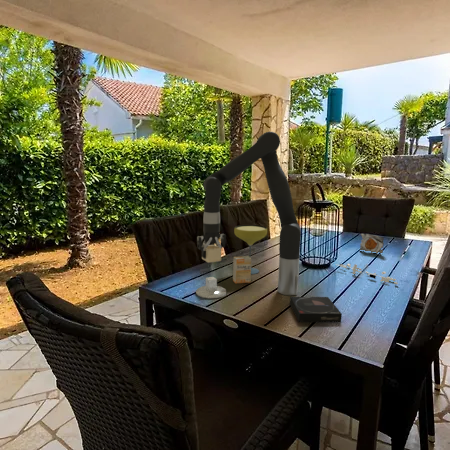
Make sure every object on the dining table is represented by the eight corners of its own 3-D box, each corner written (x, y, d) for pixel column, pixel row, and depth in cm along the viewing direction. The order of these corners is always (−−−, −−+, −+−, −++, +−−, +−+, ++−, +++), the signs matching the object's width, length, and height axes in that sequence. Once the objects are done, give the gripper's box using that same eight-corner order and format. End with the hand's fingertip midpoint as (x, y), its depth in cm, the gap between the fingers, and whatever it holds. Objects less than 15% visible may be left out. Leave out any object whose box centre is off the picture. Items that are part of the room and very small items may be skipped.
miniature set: (332, 269, 194) (341, 268, 203) (395, 289, 170) (403, 287, 179) (334, 258, 194) (344, 257, 202) (398, 277, 170) (406, 275, 178)
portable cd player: (326, 305, 149) (327, 296, 148) (340, 323, 132) (341, 313, 131) (289, 304, 148) (290, 296, 147) (298, 323, 131) (299, 313, 131)
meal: (358, 252, 234) (359, 234, 231) (360, 251, 237) (361, 233, 235) (381, 256, 225) (383, 237, 223) (383, 255, 228) (385, 236, 226)
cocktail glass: (227, 273, 187) (228, 228, 182) (241, 264, 203) (242, 223, 198) (258, 278, 179) (259, 232, 174) (270, 269, 194) (272, 226, 190)
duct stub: (217, 285, 168) (217, 272, 167) (231, 295, 156) (231, 281, 155) (191, 290, 162) (191, 276, 160) (203, 300, 149) (203, 285, 148)
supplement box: (235, 284, 170) (235, 259, 168) (232, 280, 175) (233, 256, 173) (250, 282, 173) (251, 258, 170) (247, 279, 177) (248, 255, 175)
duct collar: (214, 257, 160) (214, 244, 159) (221, 260, 154) (221, 248, 153) (201, 258, 157) (202, 246, 156) (208, 262, 151) (208, 249, 150)
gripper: (222, 219, 159) (221, 253, 162) (193, 221, 152) (193, 257, 155) (229, 222, 152) (229, 257, 156) (200, 224, 146) (200, 261, 149)
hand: (211, 257), depth 156 cm, fingers closed on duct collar, 6 cm apart
